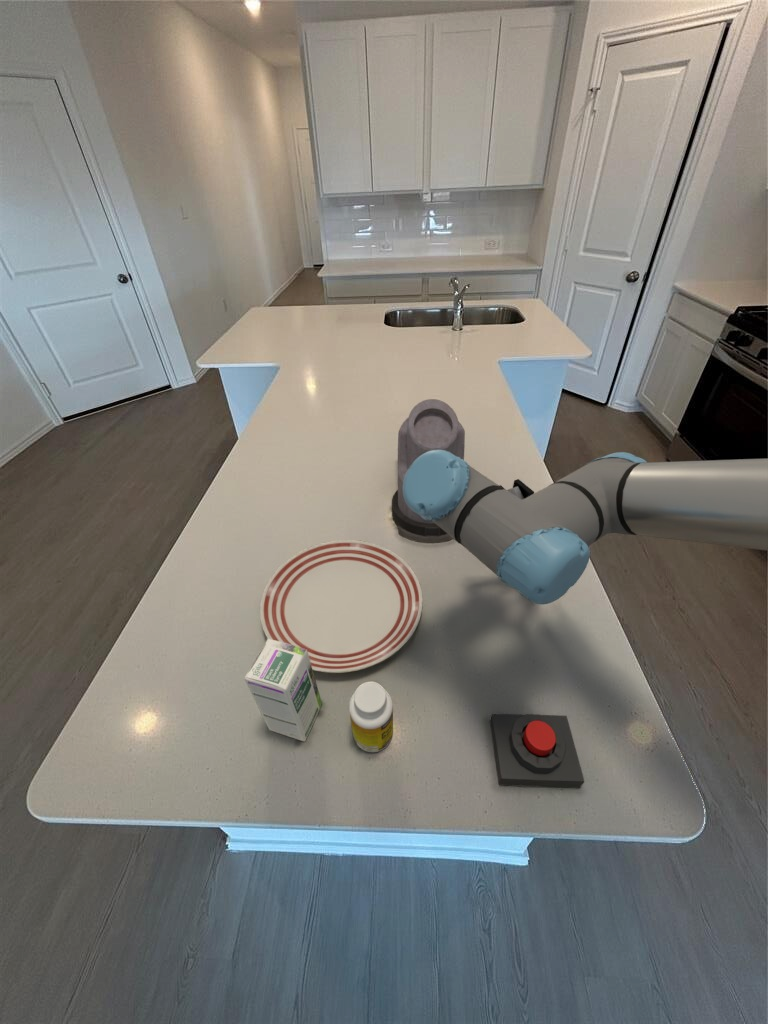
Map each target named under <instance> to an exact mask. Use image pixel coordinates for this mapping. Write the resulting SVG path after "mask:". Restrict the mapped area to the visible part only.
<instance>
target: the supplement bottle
mask: <svg viewBox="0 0 768 1024" xmlns="http://www.w3.org/2000/svg"><path fill="white" fill-rule="evenodd" d="M392 699H393V698H392V697H391V695H390V694H389V692H388V691H387V690H386V689H385V688H384V687H383V686H382V685H381V684H380V683H378V682H376V681H365V682H363V683H361V684H360V685H358V687H357V688H356V689H355V691H354V692H353V694H352V695H351V697H350V699H349V703H348V712H349V719H350V724H351V730H352V736H353V739H354V742H355V743H356V745H357V747H359V748H360V749H361V750H363V751H364V752H368V753H378V752H380V751H383V750H384V749H385V748H386V747H388V745H390V743H391V741H392V739H393V735H394V705H393V700H392Z"/></svg>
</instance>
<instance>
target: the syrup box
mask: <svg viewBox="0 0 768 1024" xmlns="http://www.w3.org/2000/svg"><path fill="white" fill-rule="evenodd" d="M243 679H244V681H245V683H246V685H247V688H248V689H249V691H250V694H251V695H252V697H253V700H254V702H255V703H256V705H257V707H258V709H259V711H260V713H261V716H262V718H263V720H264V722H265V724H266V726H267V728H268V730H269V731H272V732H275V733H277V734H280V735H282V736H286V737H289V738H292V739H295V740H298V741H301V742H304V743H305V742H306V741H307V739H308V737H309V735H310V732H311V730H312V728H313V725H314V723H315V721H316V719H317V717H318V714H319V712H320V710H321V707H322V705H323V702H322V698H321V695H320V691H319V688H318V684H317V681H316V677H315V674H314V670H312V666H311V663H310V659H309V655H308V652H307V650H306V649H303V648H301V647H297V646H294V645H291V644H288V643H284V642H280V641H276V640H271V639H268V638H267V639H266V642H265V643H264V646H263V647H262V649H261V650H260V651H259V653H258V654H257V656H256V657H255V659H254V660H253V662H252V664H251V666H250V667H249V669H248V671H247V672H246V674H245V676H244V677H243Z"/></svg>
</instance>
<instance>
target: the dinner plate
mask: <svg viewBox="0 0 768 1024" xmlns="http://www.w3.org/2000/svg"><path fill="white" fill-rule="evenodd" d="M423 596H424V595H423V591H422V586H421V583H420V581H419V578H418V576H417V575H416V573H415V572H414V570H413V569H412V567H411V566H410V565H409V563H407V562H406V561H405V559H404V558H402V557H401V556H399V555H398V554H397V553H396V552H393V551H392V550H390V549H388V548H386V547H384V546H382V545H379V544H377V543H373V542H369V541H364V540H355V539H344V540H343V539H340V540H339V539H338V540H330V541H329V540H328V541H324V542H321V543H318V544H315V545H311V546H309V547H306V548H304V549H302V550H300V551H298V552H296V553H295V554H293V555H292V556H291V557H289V558H288V559H286V560H285V561H284V562H283V563H281V565H280V566H279V567H278V568H277V569H276V570H275V571H274V572H273V574H272V575H271V576H270V578H269V580H268V581H267V583H266V585H265V586H264V589H263V592H262V595H261V599H260V603H259V604H260V605H259V619H260V624H261V628H262V630H263V633H264V634H265V637H266V638H267V640H268V639H271V640H276V641H280V642H284V643H288V644H291V645H294V646H297V647H301V648H303V649H306V650H307V652H308V655H309V659H310V663H311V666H312V670H313V671H314V672H315V671H316V672H321V673H328V674H329V673H331V674H341V673H342V674H343V673H350V672H356V671H361V670H364V669H368V668H371V667H373V666H375V665H378V664H380V663H382V662H383V661H385V660H387V659H389V658H390V657H391V656H393V655H394V654H396V653H397V652H398V651H399V650H400V649H402V648H403V647H404V646H405V644H406V643H407V642H408V641H409V640H410V639H411V637H412V636H413V634H414V633H415V631H416V629H417V627H418V626H419V623H420V621H421V616H422V612H423V608H424V607H423V606H424V597H423Z"/></svg>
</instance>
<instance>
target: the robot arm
mask: <svg viewBox="0 0 768 1024" xmlns="http://www.w3.org/2000/svg"><path fill="white" fill-rule="evenodd" d="M501 486H502V485H501ZM501 486H500V484H498V483H496V482H495V481H493V480H492V479H490V478H489V477H488V476H485V475H484V474H483V473H481V472H480V471H478V470H477V469H475V468H474V467H473V466H471V465H470V464H468V462H467V460H465V459H464V460H463V459H462V458H460V457H458V456H455V455H453V454H452V453H450V452H448V451H445V450H432V451H428V452H426V453H424V454H422V455H421V456H419V457H418V458H417V459H416V460H415V461H414V462H413V463H412V465H411V466H410V468H409V469H408V470H407V472H406V475H405V477H404V481H403V496H404V499H405V502H406V504H407V505H408V507H409V508H410V509H411V510H412V511H414V512H415V513H417V514H419V515H420V516H421V517H422V518H423V519H425V520H429V521H432V522H433V523H435V524H436V525H438V526H439V527H440V528H441V529H443V530H444V531H445V532H446V533H447V534H448V535H450V536H451V537H452V538H453V539H452V540H454V541H456V542H457V543H458V544H460V545H461V546H462V547H464V548H465V549H466V550H467V551H468V552H469V553H471V554H472V555H473V556H474V557H475V558H476V559H477V560H479V561H480V562H481V563H482V564H483V565H484V566H485V567H487V568H488V569H489V570H491V572H492V573H493V574H495V575H496V577H498V578H499V579H500V581H501V582H503V583H504V584H506V585H507V586H509V587H512V588H513V589H514V590H516V591H517V592H518V593H520V594H521V595H522V596H523V597H524V598H526V599H528V600H529V601H530V602H532V603H533V604H536V605H548V604H551V603H553V602H555V601H558V600H559V599H561V598H562V597H563V596H564V595H566V593H567V592H568V591H569V589H570V588H572V587H574V585H576V583H577V582H578V581H579V580H580V578H581V577H582V576H583V574H584V572H585V570H586V568H587V566H588V564H589V561H590V557H591V551H590V548H589V547H590V546H591V545H593V543H595V542H596V541H599V540H600V539H601V538H603V537H605V536H606V535H609V534H620V535H629V536H639V537H640V536H641V537H649V538H658V539H667V540H675V541H681V542H682V541H684V542H691V543H701V544H710V545H718V546H724V547H725V546H726V547H733V548H743V549H749V550H750V549H751V550H757V551H758V550H759V551H768V458H743V459H741V458H739V459H715V460H714V459H713V460H712V459H711V460H686V461H683V460H682V461H659V462H648V461H647V460H645V459H644V458H641V457H639V456H637V455H634V454H632V453H631V452H626V451H620V452H612V453H609V454H606V455H604V456H601V457H597V458H595V459H593V460H591V461H589V462H587V463H585V464H584V465H583V466H582V467H579V468H578V469H577V470H574V471H573V472H571V473H569V474H567V475H566V476H564V477H562V478H560V479H558V480H556V481H555V482H553V483H551V484H549V485H547V486H546V487H544V488H542V489H539V490H538V491H537V492H534V494H532V495H530V496H529V497H527V498H525V499H520V498H518V497H517V496H515V495H514V494H512V493H511V492H509V491H507V490H508V489H506V488H505V487H504V486H502V487H501ZM504 488H505V489H504Z"/></svg>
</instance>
